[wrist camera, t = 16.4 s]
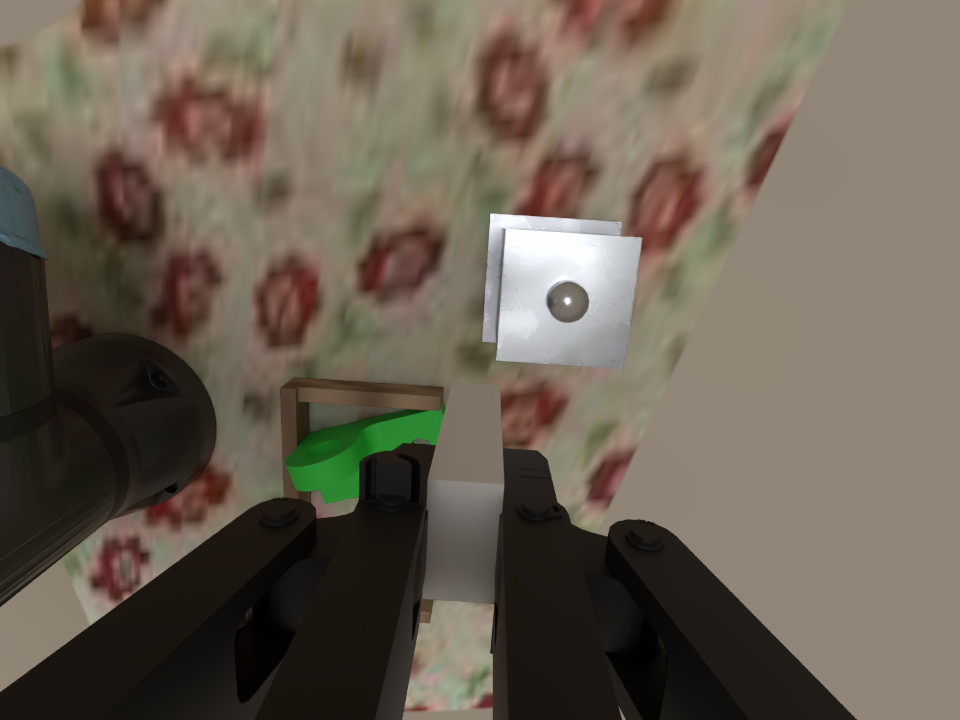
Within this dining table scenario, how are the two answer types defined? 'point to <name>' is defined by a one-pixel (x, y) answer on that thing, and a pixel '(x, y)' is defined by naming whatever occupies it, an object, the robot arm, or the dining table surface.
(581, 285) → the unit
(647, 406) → the dining table surface
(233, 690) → the robot arm
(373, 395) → the bay
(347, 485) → the mechanical part
